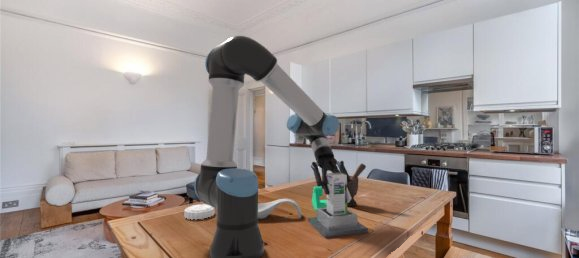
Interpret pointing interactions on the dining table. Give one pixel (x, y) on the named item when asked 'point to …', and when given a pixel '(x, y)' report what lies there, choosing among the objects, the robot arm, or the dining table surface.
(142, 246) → the dining table surface
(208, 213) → the mooncake
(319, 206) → the camera mount
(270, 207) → the spoon rest
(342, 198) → the syrup box
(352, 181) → the mortar and pestle
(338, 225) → the docking sleeve
